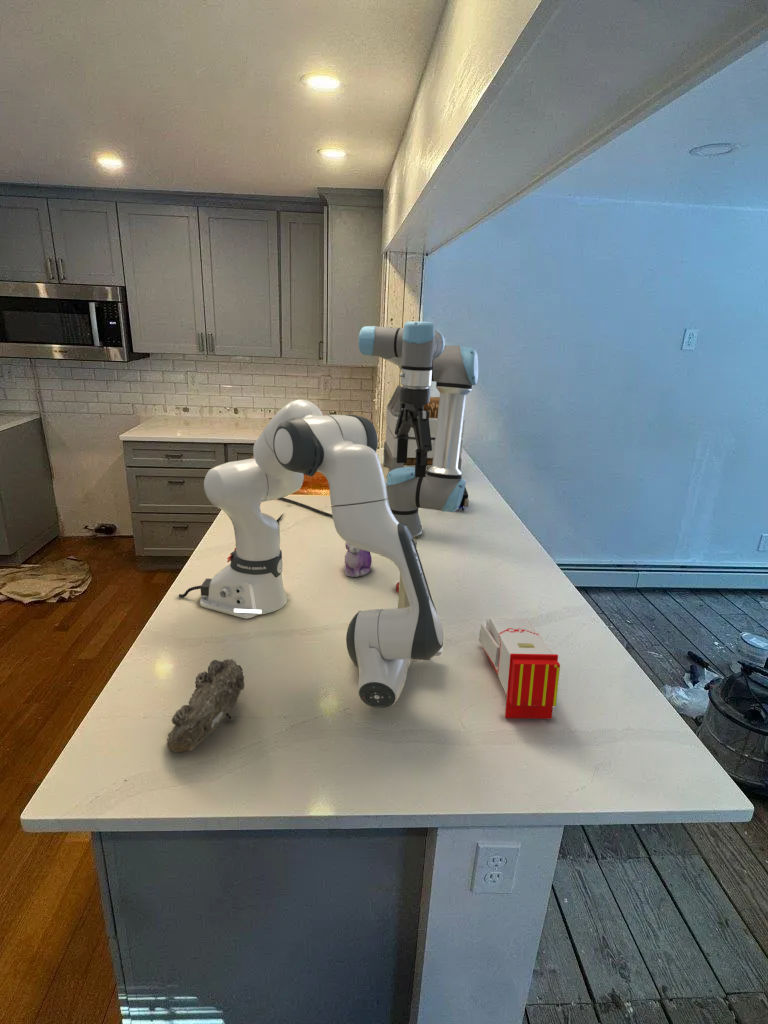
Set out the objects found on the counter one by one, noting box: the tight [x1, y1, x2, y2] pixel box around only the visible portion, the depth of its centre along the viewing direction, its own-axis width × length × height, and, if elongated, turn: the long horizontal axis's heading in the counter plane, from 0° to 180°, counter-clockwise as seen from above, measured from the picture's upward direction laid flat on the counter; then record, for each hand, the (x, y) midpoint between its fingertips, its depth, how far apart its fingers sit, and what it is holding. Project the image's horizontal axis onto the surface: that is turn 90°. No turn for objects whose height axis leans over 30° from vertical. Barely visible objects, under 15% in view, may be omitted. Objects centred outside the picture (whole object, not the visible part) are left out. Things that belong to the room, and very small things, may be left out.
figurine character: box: [455, 486, 470, 512], centre depth 229 cm, size 7×8×15 cm
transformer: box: [383, 384, 465, 473], centre depth 268 cm, size 34×33×41 cm
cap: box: [395, 581, 399, 594], centre depth 160 cm, size 4×4×2 cm
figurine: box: [343, 541, 373, 578], centre depth 168 cm, size 9×10×15 cm
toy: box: [478, 616, 561, 720], centre depth 122 cm, size 12×13×30 cm
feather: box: [276, 513, 284, 524], centre depth 210 cm, size 2×28×2 cm
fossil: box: [166, 658, 245, 754], centre depth 106 cm, size 22×10×15 cm
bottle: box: [397, 538, 418, 608], centre depth 140 cm, size 5×5×22 cm
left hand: (402, 618), depth 133 cm, fingers open, 8 cm apart
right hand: (410, 469), depth 148 cm, fingers open, 13 cm apart
